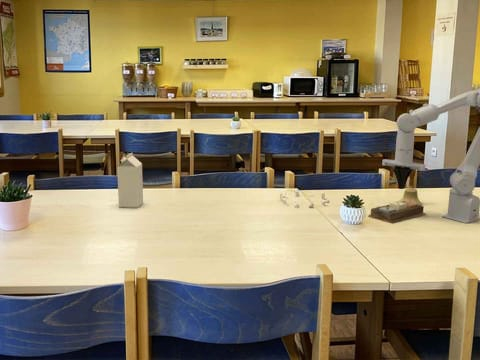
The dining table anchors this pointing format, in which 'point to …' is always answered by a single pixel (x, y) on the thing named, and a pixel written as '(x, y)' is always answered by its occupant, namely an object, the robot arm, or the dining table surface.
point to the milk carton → (130, 182)
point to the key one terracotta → (409, 205)
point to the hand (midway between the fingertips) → (401, 188)
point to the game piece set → (309, 196)
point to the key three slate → (387, 209)
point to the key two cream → (397, 205)
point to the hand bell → (411, 191)
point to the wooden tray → (397, 214)
